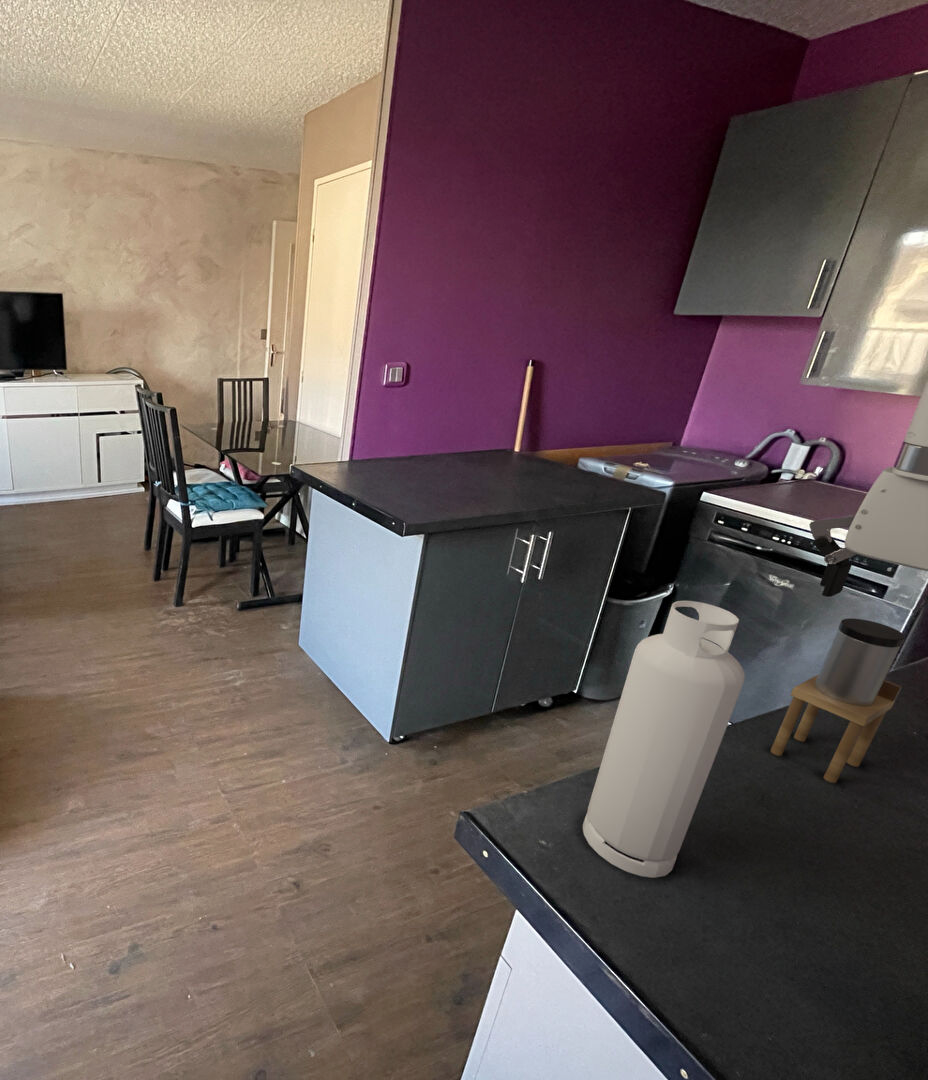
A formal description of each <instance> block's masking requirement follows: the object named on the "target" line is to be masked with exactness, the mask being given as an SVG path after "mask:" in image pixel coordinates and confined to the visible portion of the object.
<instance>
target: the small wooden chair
mask: <svg viewBox="0 0 928 1080" xmlns="http://www.w3.org/2000/svg"><path fill="white" fill-rule="evenodd" d="M818 675H819V673H818V674H816V675H814V676H813V677H811V678H809V679H807V680H805V681H802V682H801V683H799V684H798V685H796V686H794V687H793V688H792V691H791V693H790V696H791V697H792V699H791V701H790V703H789V706H788V708H787V711H786V712H785V715H784V717H783V720H782V722H781V725H780V727H779V729H778V732H777V734H776V737H775V739H774V741H773V744H772V745H771V749H770V753H771V754H773V755H775V756H778V757H782V756H783V754H784V752H785V749H786V746H787V744H788V742H789V740H790V738H791V736H792V733H793V731H794V728H795V726H796V724H797V722H798V720H799V717H800V714H801V712H802V710H803V707H804V706H805V703H807V705H806V708H805V710H804V712H803V715H802V717H801V719H800V722H799V724H798V726H797V728H796V731H795V733H794V735H793V739H795V740H797V741H799V742H805V741H806V740H807V738H808V736H809V733H810V731H811V729H812V726H813V724H814V722H815V720H816V718H817V715H818V713H819V711H820V709H821V710H824V711H827V712H829V713H831V714H834V715H836V716H838V717H841V718H842V719H845V720H848V721H849V723H848V724H847V727H846V729H845V731H844V733H843V735H842V738H841V739H840V742H839V744H838V745H837V748H836V750H835V752H834V754H833V756H832V759H831V760H830V763H829V765H828V767H827V769H826V771H825V773H824V775H823V779H824V780H825V781H827V782H828V783H831V784H836V783H837V782H838V780H839V778H840V776H841V774H842V771H843V769H844V767H845V766H846V763H847V764H848V765H850V766H852V767H856V768H859V767H860V765H861V763H862V761H863V759H864V757H865V756H866V753H867V751H868V749H869V747H870V745H871V744H872V741H873V739H874V738H875V735H876V733H877V731H878V729H879V727H880V725H881V723H882V721H883V719H884V717H885V715H886V713H887V712H888V711H889V710H891V709H892V708H893V707H894V704H895V702H896V700H897V698H898V696H899V694H900V692H901V689H902V688H903V686H902V685H900V684H898V683H895V682H892V681H889V680H887V679H885V680H884V682H883V684H882V686H881V688H880V690H879V692H878V694H877V696H876V698H875V700H874V702H873V704H872V705H870V706H857V705H852V704H848V703H844V702H841V701H838V700H835V699H833V698H830V697H828V696H826V695H824V694H823V693H821V692H820V691H818V690H817V689H816V687H815V682H816V680H817V677H818Z"/></svg>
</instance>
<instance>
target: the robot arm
mask: <svg viewBox="0 0 928 1080" xmlns="http://www.w3.org/2000/svg"><path fill="white" fill-rule="evenodd" d="M808 524H809V529H810V532H811V535H812V538H813V545H814V546H815V547H816V549H817V550H818V551H819V552H820V553H821V555H822V556H823V557H824V558H823V560H824V562H825V563H826V564H827V565H826V566H825V570H824V572H823V575H822V578H821V579H820V583H819V585H820V586H821V587H823V590H822V593H821V595H822V596H823V597H826V598H829V597H834V596H836V595H838V594H840V593H841V592H842V591H843V589H844V586H845V584H846V581H847V579H848V576H849V574H850V571H851V569H852V566H853V564H852V563H851V561H850V559H851V558H853V557H855V556H857V555H858V556H861V557H864V558H869V559H874V560H877V561H882V562H885V563H890V564H895V565H899V566H902V567H907V568H911V569H915V570H920V571H924V572H928V379H927V380H926V383H925V385H924V388H923V390H922V393H921V396H920V398H919V401H918V403H917V405H916V408H915V410H914V414H913V415H912V417H911V421H910V423H909V426H908V429H907V431H906V433H905V435H904V439H903V441H902V443H901V446H900V448H899V451H898V453H897V456H896V459H895V461H894V464H893V466H889V467H886V468H884V469H883V470H882V471H881V472H880V474H879V475H878V477H877V478H876V479H875V481H874V482H873V484H872V486H871V487H870V488H869V490H868V492H867V493H866V495H865V497H864V499H863V500H862V503H861V504H860V506H859V508H858V509H857V512H856V513H855V514H854V513H853V514H847V515H841V516H834V517H828V518H821V519H816V520H812V521H811V522H810V523H808ZM848 527H849V528H848ZM841 528H848V530H847V533H846V536H845V539H844V547H842V548H841V546H839V544H838V543H837V541H836V540H835V539H834V538H833V537H832V533H831V530H834V529H841Z"/></svg>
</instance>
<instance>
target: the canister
mask: <svg viewBox="0 0 928 1080" xmlns="http://www.w3.org/2000/svg"><path fill="white" fill-rule="evenodd" d="M905 640H906V634H904V633H903V632H901V631H900V630H898V629H896V628H894V627H891V626H888V625H885V624H884V623H880V622H876V621H873V620H868V619H862V618H851V617H850V618H843V619H842V620H841V621H840V623H839V625H838V628H837V631H836V634H835V636H834V638H833V641H832V643H831V645H830V648H829V650H828V652H827V654H826V656H825V659H824V661H823V663H822V666H821V668H820V670H819V673H818V674H819V675H818V674H817V675H818V677H817V680H816V682H815V687H816V689H817V690H818V691H820V692H821V693H823V694H824V695H826V696H828V697H830V698H833V699H835V700H838V701H841V702H844V703H848V704H852V705H857V706H870V705H872V704H873V702H874V700H875V698H876V696H877V694H878V692H879V690H880V688H881V686H882V684H883V682H884V680H886V678H887V675H888V673H889V671H890V669H891V668H892V665H893V663H894V662H895V659H896V657H897V655H898V653H899V650H900V648H901V646H903V644H904V642H905Z"/></svg>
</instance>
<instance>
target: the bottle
mask: <svg viewBox="0 0 928 1080" xmlns="http://www.w3.org/2000/svg"><path fill="white" fill-rule="evenodd" d="M682 607H684V608H685V607H687V608H692V609H695V610H696V612H697V613H698V619H696V618H692V617H689V616H687V615H685V614H683V613H681V612H680V611H678V610H677V609H676V608H682ZM739 623H740V619H739V618H738V616H737V615H736V614H734V613H733V612H731V611H729V610H727V609H724V608H722V607H719V606H716V605H714V604H710V603H706V602H702V601H701V602H700V601H694V600H677V601H675V602H672V604H671V607H670V609H669V613H668V617H667V619H666V623H665V626H664V629H663V632H662V633H657V634H653V635H649V636H648V637H647V636H646V637H645V638H643V639H642V640H641V641H640V642H638V644H637V645H636V647H635V649H634V651H633V655H632V658H631V662H630V665H629V669H628V673H627V675H626V679H625V682H624V686H623V689H622V691H621V694H620V695H621V696H620V699H619V701H618V705H617V709H616V712H615V716H614V719H613V722H612V726H611V729H610V733H609V735H608V739H607V743H606V746H605V749H604V752H603V757H602V759H601V763H600V766H599V770H598V773H597V776H596V780H595V783H594V787H593V789H592V793H591V796H590V800H589V803H588V807H587V812H586V814H585V817H584V820H583V824H582V832H583V836H584V838H585V839H586V841H587V843H588V845H589V846H590V847H591V848H592V849H593V850H594V852H596V853H597V854H598V855H599V856H600V857H601V858H603V859H604V860H605V861H607V862H608V863H610V864H611V865H613V866H614V867H617V868H618V869H621V870H622V871H625V872H627V873H629V874H632V875H636V876H640V877H645V878H660V877H665V876H667V875H669V874H670V873H671V872H672V871H673V868H674V867H675V863H676V860H677V858H678V854H679V853H680V850H681V847H682V845H683V842H684V840H685V837H686V835H687V832H688V830H689V827H690V825H691V822H692V819H693V816H694V814H695V811H696V809H697V806H698V804H699V800H700V798H701V795H702V794H703V791H704V787H705V785H706V783H707V780H708V777H709V775H710V772H711V769H712V767H713V764H714V762H715V760H716V759H715V758H716V756H717V754H718V752H719V749H720V746H721V743H722V741H723V739H724V736H725V733H726V730H727V727H728V725H729V723H730V719H731V717H732V715H733V712H734V710H735V707H736V704H737V701H738V699H739V697H740V694H741V691H742V689H743V686H744V683H745V679H746V678H745V676H746V675H745V672H744V668H743V666H742V665H741V663H740V662H739V661H738V659H736V658H735V656H733V654H731V653H730V652H729V650H730V647H731V645H732V641H733V638H734V635H735V633H736V630H737V628H738V625H739ZM606 843H607V844H606ZM612 847H613V848H612ZM620 852H621V853H620ZM624 854H625V855H624ZM626 855H627V856H626ZM628 856H629V857H628ZM630 857H631V858H630ZM633 858H635V859H633ZM637 859H638V860H637ZM640 860H641V861H640Z"/></svg>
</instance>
